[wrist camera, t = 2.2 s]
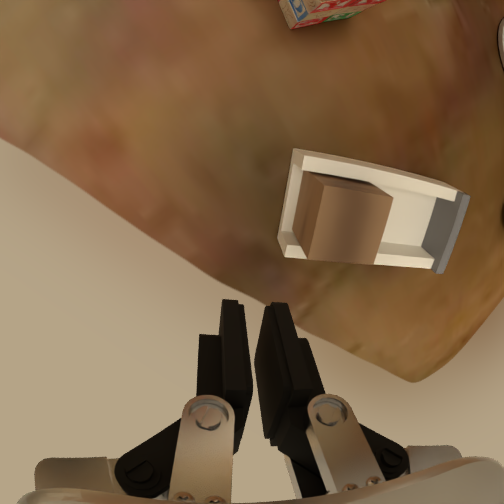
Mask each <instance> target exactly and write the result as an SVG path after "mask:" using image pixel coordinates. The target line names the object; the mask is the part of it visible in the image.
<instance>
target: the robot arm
mask: <svg viewBox="0 0 504 504" xmlns="http://www.w3.org/2000/svg"><path fill="white" fill-rule="evenodd" d="M498 43H499V51H500V56H501V60H502V64H503V67H504V19H503V20H502V21H501V23H500V26H499V31H498ZM254 360H255V361H254V366H255V373H256V381H257V388H258V395H259V402H260V410H261V417H262V424H263V432H264V437H265V439H269V438H270V444H271V446H278V450H279V451H280V452H282V453H283V454H284V458H285V462H286V466H287V469H288V472H289V476H290V479H291V483H292V486H293V489H294V492H295V496H296V499H293V500H285V501H273V502H259V503H258V502H257V503H231V489H232V465H233V455H234V454H235V453H236V452H237V451H238V449H239V445H240V441H241V438H242V435H243V431H244V427H245V423H246V419H247V415H248V411H249V407H250V403H251V399H252V394H253V379H252V371H251V362H250V354H249V346H248V338H247V329H246V321H245V313H244V305H243V304H238V300H227V299H223V300H222V307H221V316H220V327H219V335H206V334H200V335H199V350H198V370H197V393H196V397H194V398H193V399H191V400H189V401H188V402H187V404H186V405H185V407H184V409H183V413H182V418H180V419H179V420H177V421H176V422H174V423H173V424H171V425H170V426H168V427H167V428H165V429H164V430H162V431H161V432H159V433H158V434H156V435H154V436H153V437H151V438H150V439H148V440H147V441H145V442H143V443H142V444H141V445H139V446H137V447H135V448H134V449H132V450H130V451H129V452H127V453H125V454H124V455H123V456H122V457H120V458H116V459H107V457H94V458H93V457H92V458H47V459H43V460H42V461H40V462H39V463H38V465H37V466H36V468H35V474H34V475H35V490H36V491H33V492H30V493H27V494H26V495H24V496H23V497H22V498H21V499H20V500H19V501H18V502H17V504H504V467H503V466H502V465H501V464H500V463H499V462H498V461H496V460H494V459H491V458H487V457H477V456H474V457H464V458H462V456H461V453H460V452H459V451H458V450H457V449H456V448H455V447H453V446H448V445H443V446H407V447H406V448H403V447H402V446H400V445H399V444H397V443H396V442H394V441H392V440H390V439H388V438H386V437H384V436H382V435H380V434H378V433H376V432H375V431H373V430H371V429H369V428H367V427H365V426H363V425H362V424H360V423H358V421H357V419H356V417H355V415H354V413H353V411H352V408H351V407H350V405H349V404H348V403H347V402H346V401H345V400H344V399H343V398H341V397H339V396H337V395H332V394H325V391H324V388H323V385H322V381H321V378H320V375H319V372H318V369H317V366H316V363H315V360H314V357H313V354H312V351H311V348H310V345H309V342H308V340H307V339H306V338H298V336H297V333H296V329H295V326H294V323H293V320H292V316H291V313H290V310H289V307H288V304H287V303H280V302H272V303H271V305H270V306H266V307H265V310H264V315H263V320H262V325H261V329H260V334H259V339H258V344H257V349H256V353H255V359H254Z"/></svg>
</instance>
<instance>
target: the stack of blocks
mask: <svg viewBox="0 0 504 504" xmlns="http://www.w3.org/2000/svg"><path fill="white" fill-rule="evenodd" d="M384 1H386V0H278V2H279V5H280V7H281V10H282V12H283V14H284V17H285V19H286V21H287V24H288V26H289V28H290V29H296V28H300V27H304V26H309V25H314V24H319V23H321V22H327V21H332V20H339V19H345V18H350V17H352V16H354V15H356V14H358V13H360V12H362V11H363V10H365V9H367V8H370V7H372V6H374V5H376V4H378V3H381V2H384Z"/></svg>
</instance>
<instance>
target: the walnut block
mask: <svg viewBox="0 0 504 504" xmlns="http://www.w3.org/2000/svg"><path fill="white" fill-rule="evenodd" d="M392 202H393V197H392V196H390V195H389V194H387V193H386V192H384V191H383V190H381V189H380V188H378V187H376V186H375V185H373V184H372V183H370V182H368V181H363V180H358V179H352V178H347V177H341V176H336V175H330V174H324V173H318V172H312V171H305V170H303V175H302V180H301V185H300V191H299V196H298V201H297V206H296V211H295V216H294V221H293V226H292V230H293V232H294V234H295V236H296V238H297V240H298V242H299V244H300V246H301V248H302V250H303V252H304V254H305V256H306V258H307V260H318V261H331V262H343V263H356V264H369V265H373V264H374V261H375V258H376V255H377V252H378V249H379V246H380V243H381V240H382V236H383V233H384V230H385V227H386V223H387V220H388V216H389V213H390V209H391V206H392Z"/></svg>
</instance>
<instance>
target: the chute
mask: <svg viewBox="0 0 504 504" xmlns="http://www.w3.org/2000/svg"><path fill="white" fill-rule="evenodd" d="M303 170H305V171H312V172H318V173H324V174H330V175H336V176H341V177H347V178H352V179H358V180H363V181H368V182H370V183H372V184H373V185H375V186H376V187H378V188H380V189H381V190H383V191H384V192H386V193H387V194H389V195H390V196H392V197H393V202H392V206H391V209H390V213H389V216H388V220H387V223H386V227H385V230H384V233H383V236H382V240H381V243H380V246H379V249H378V252H377V255H376V258H375V261H374V264H377V265H390V266H403V267H416V268H429V269H432V270H433V271H434V272H435V273H438V274H443V273H444V270H445V268H446V265H447V263H448V260H449V258H450V255H451V253H452V250H453V247H454V245H455V242H456V239H457V236H458V234H459V231H460V228H461V225H462V222H463V219H464V216H465V213H466V210H467V206H468V203H469V200H470V196H469V195H468V194H466V193H464V192H462V191H460V190H458V189H456V188H454V187H452V186H450V185H448V184H446V183H444V182H442V181H439V180H435V179H432V178H428V177H425V176H421V175H418V174H414V173H410V172H406V171H403V170H399V169H395V168H391V167H386V166H382V165H378V164H374V163H369V162H365V161H360V160H356V159H351V158H346V157H341V156H336V155H331V154H325V153H320V152H314V151H309V150H303V149H297V148H293V152H292V158H291V164H290V170H289V175H288V181H287V187H286V192H285V198H284V203H283V209H282V214H281V220H280V225H279V231H278V236H277V239H278V242H279V244H280V247H281V249H282V252H283V255H284V257H289V258H302V259H307V258H306V256H305V254H304V252H303V250H302V248H301V246H300V244H299V242H298V240H297V238H296V236H295V234H294V232H293V230H292V226H293V221H294V216H295V211H296V206H297V201H298V196H299V191H300V185H301V180H302V175H303Z"/></svg>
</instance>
